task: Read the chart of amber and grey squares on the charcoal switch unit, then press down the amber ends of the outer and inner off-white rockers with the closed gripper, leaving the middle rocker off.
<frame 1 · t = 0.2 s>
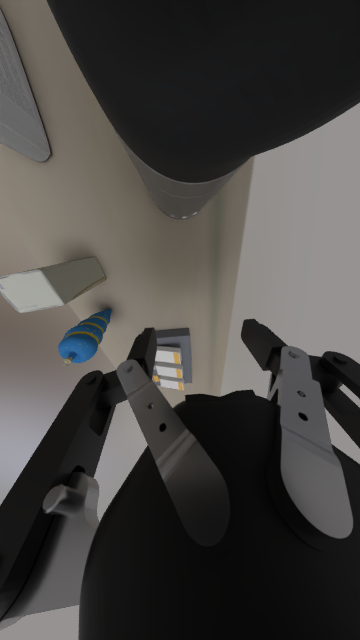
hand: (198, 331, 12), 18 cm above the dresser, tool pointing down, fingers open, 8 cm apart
ornament: (110, 310, 30), on the dresser
rocker outer: (172, 382, 38), point 5 cm above the dresser, hinge at 14.0°
rocker inner: (166, 355, 32), point 5 cm above the dresser, hinge at 14.0°
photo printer: (18, 96, 15), on the dresser
rocker middle: (169, 370, 35), point 5 cm above the dresser, hinge at 14.0°
switch unit: (170, 356, 39), on the dresser
skincare box: (87, 270, 25), on the dresser
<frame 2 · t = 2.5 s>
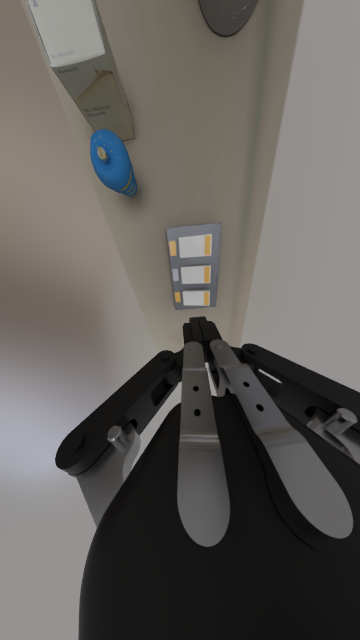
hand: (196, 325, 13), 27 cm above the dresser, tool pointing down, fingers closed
ornament: (134, 192, 27), on the dresser
rocker outer: (196, 297, 35), point 5 cm above the dresser, hinge at 14.0°
rocker inner: (195, 246, 29), point 5 cm above the dresser, hinge at 14.0°
rocker middle: (195, 274, 32), point 5 cm above the dresser, hinge at 14.0°
switch unit: (193, 271, 36), on the dresser
skincare box: (115, 123, 23), on the dresser
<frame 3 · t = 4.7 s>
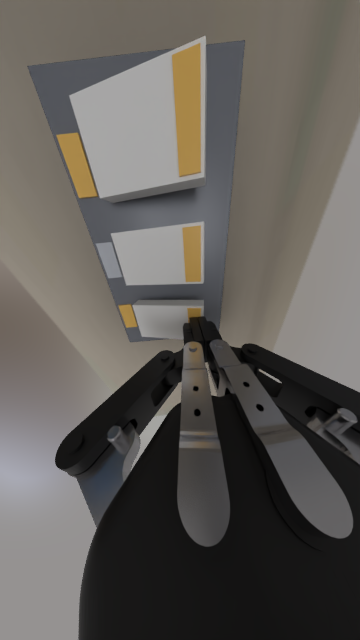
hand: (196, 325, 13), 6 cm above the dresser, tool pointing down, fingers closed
rocker outer: (169, 320, 14), point 5 cm above the dresser, hinge at 13.8°, touching gripper
rocker inner: (144, 144, 8), point 5 cm above the dresser, hinge at 14.0°
rocker middle: (160, 258, 11), point 5 cm above the dresser, hinge at 14.0°
switch unit: (164, 253, 15), on the dresser
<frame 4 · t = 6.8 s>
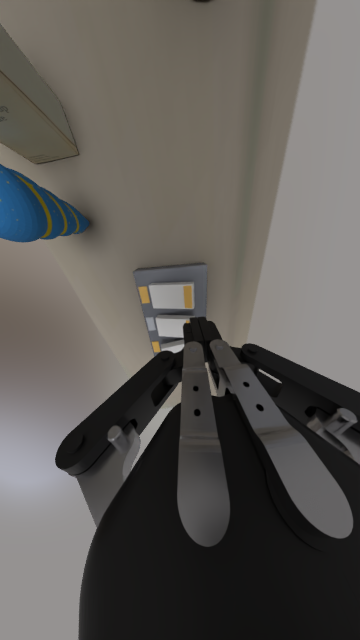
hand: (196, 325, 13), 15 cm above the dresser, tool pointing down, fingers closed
ornament: (88, 224, 20), on the dresser
rocker outer: (178, 350, 27), point 5 cm above the dresser, hinge at -12.1°
rocker inner: (172, 295, 21), point 5 cm above the dresser, hinge at 14.0°
rocker middle: (175, 326, 24), point 5 cm above the dresser, hinge at 14.0°
switch unit: (175, 314, 28), on the dresser
skincare box: (48, 134, 16), on the dresser
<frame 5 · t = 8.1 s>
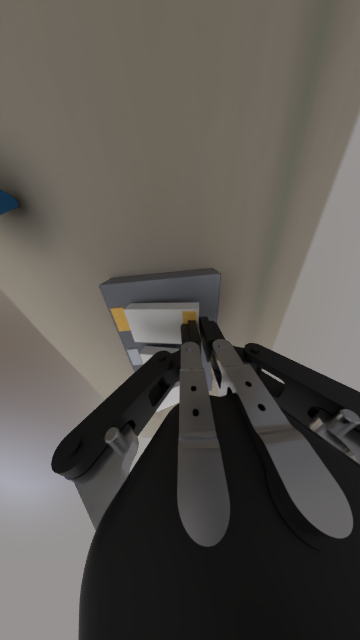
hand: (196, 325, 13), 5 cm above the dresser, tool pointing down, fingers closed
ornament: (19, 205, 12), on the dresser
rocker outer: (176, 391, 19), point 5 cm above the dresser, hinge at -18.6°
rocker inner: (164, 324, 13), point 5 cm above the dresser, hinge at 11.3°, touching gripper
rocker middle: (171, 364, 16), point 5 cm above the dresser, hinge at 14.0°
switch unit: (171, 339, 20), on the dresser
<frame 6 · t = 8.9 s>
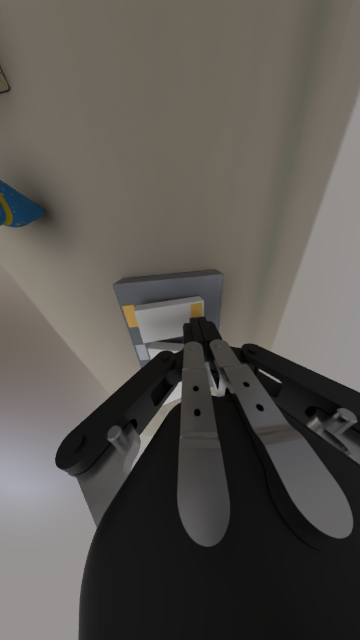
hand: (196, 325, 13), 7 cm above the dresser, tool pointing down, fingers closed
ornament: (44, 214, 13), on the dresser
rocker outer: (180, 385, 20), point 5 cm above the dresser, hinge at -19.4°, touching switch unit
rocker inner: (171, 320, 14), point 5 cm above the dresser, hinge at -9.1°
rocker middle: (176, 358, 17), point 5 cm above the dresser, hinge at 14.0°
switch unit: (176, 336, 22), on the dresser
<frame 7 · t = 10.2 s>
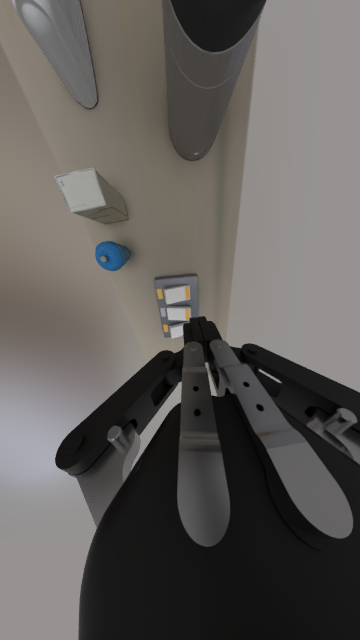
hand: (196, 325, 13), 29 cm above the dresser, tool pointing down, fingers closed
ornament: (128, 253, 35), on the dresser
rocker outer: (180, 329, 42), point 5 cm above the dresser, hinge at -18.1°
rocker inner: (177, 294, 36), point 5 cm above the dresser, hinge at -19.3°, touching switch unit
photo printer: (79, 57, 21), on the dresser
rocker middle: (179, 313, 39), point 5 cm above the dresser, hinge at 14.0°
switch unit: (178, 306, 43), on the dresser
skincare box: (113, 210, 30), on the dresser
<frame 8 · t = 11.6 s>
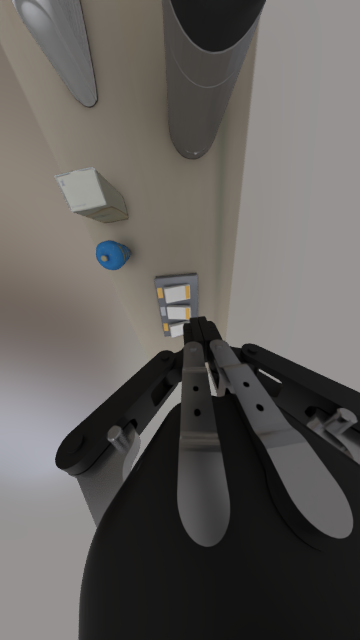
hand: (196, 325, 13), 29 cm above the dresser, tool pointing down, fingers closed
ornament: (129, 252, 35), on the dresser
rocker outer: (180, 328, 42), point 5 cm above the dresser, hinge at -17.4°
rocker inner: (177, 293, 36), point 5 cm above the dresser, hinge at -15.2°
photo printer: (78, 54, 21), on the dresser
rocker middle: (179, 312, 39), point 5 cm above the dresser, hinge at 14.0°
switch unit: (178, 305, 43), on the dresser
skincare box: (113, 209, 30), on the dresser
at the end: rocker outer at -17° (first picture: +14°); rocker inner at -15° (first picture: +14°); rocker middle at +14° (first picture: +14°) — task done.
